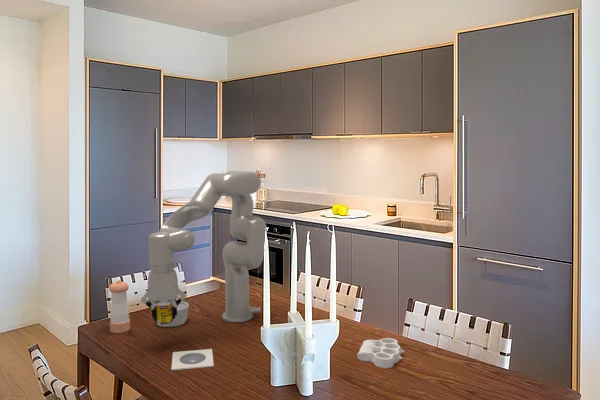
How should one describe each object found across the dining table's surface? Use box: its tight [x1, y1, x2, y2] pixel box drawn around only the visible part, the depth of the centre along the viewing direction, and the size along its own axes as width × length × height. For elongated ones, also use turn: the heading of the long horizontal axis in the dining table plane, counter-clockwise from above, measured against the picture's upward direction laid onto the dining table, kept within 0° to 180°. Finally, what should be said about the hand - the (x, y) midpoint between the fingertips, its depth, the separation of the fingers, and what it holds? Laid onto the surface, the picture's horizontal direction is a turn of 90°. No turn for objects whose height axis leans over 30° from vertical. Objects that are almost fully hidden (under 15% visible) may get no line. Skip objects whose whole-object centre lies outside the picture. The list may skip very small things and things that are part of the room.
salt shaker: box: [108, 280, 131, 334], centre depth 182 cm, size 7×7×19 cm
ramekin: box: [162, 300, 190, 328], centre depth 191 cm, size 13×13×7 cm
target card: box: [170, 348, 215, 371], centre depth 157 cm, size 13×13×1 cm
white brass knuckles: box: [356, 337, 406, 369], centre depth 160 cm, size 3×18×15 cm
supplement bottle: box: [155, 300, 173, 327], centre depth 167 cm, size 6×6×10 cm
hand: (164, 318), depth 167 cm, fingers closed on supplement bottle, 5 cm apart
